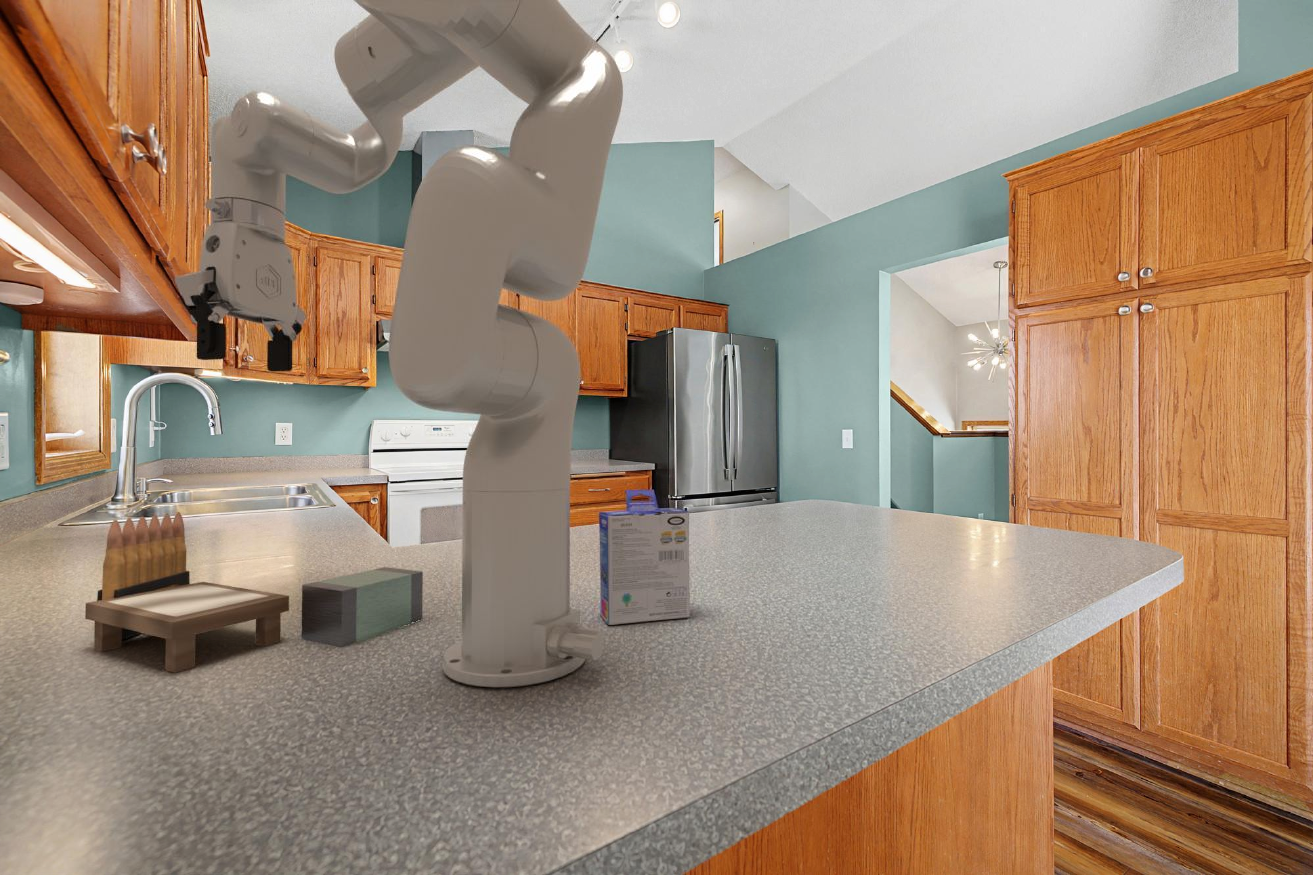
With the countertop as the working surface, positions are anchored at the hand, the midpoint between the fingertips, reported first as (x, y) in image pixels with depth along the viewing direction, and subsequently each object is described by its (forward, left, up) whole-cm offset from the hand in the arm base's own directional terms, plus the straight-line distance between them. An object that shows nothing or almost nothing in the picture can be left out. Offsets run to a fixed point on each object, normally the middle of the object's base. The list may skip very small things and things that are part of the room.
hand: (247, 365), depth 71 cm
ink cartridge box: (-45, -18, -30) cm, 57 cm away
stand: (-9, +10, -30) cm, 32 cm away
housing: (-20, -1, -30) cm, 36 cm away
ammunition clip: (+2, +9, -30) cm, 31 cm away
